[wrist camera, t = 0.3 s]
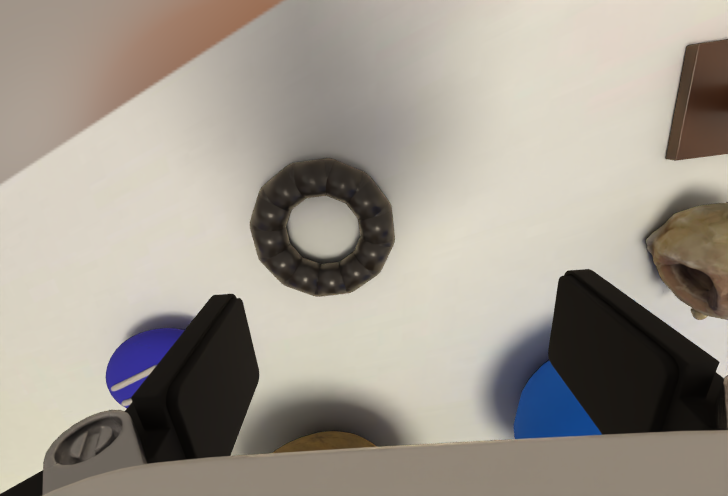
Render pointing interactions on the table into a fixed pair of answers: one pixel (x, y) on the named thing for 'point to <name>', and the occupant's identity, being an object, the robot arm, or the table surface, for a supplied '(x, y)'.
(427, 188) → the table surface
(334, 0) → the table surface
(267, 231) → the ring
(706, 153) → the brown upright peg
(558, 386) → the vase
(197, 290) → the table surface
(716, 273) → the beige rounded lump
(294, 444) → the clay pot
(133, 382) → the decorative object
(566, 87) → the table surface
